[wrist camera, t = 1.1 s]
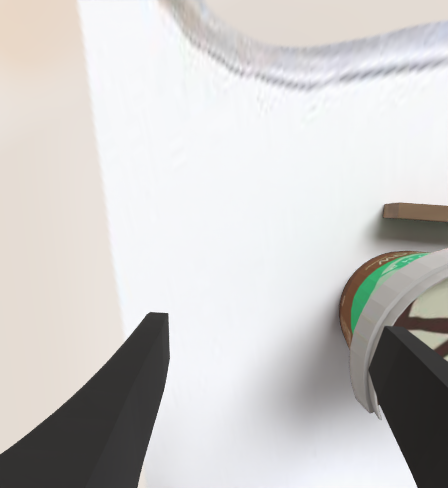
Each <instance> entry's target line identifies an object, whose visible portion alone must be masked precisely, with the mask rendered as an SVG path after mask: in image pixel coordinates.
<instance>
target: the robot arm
mask: <svg viewBox="0 0 448 488" xmlns="http://www.w3.org/2000/svg"><path fill="white" fill-rule="evenodd" d="M169 360H170V351H169V322H168V313H155V312H150V313H148V314H147V315H146V316H145V318H144V319H143V320H142V322H141V323H140V324H139V325H138V327H137V328H136V329H135V330H134V332H133V333H132V334H131V335H130V337H129V338H128V339H127V340H126V341H125V342H124V344H123V345H122V346H121V347H120V348H119V349H118V350H117V351H116V353H115V354H114V355H113V356H112V357H111V358H110V359H109V361H108V362H107V363H106V364H105V365H104V366H103V367H102V368H101V369H100V370H99V371H98V372H97V373H96V374H95V375H94V376H93V377H92V378H91V379H90V380H89V381H88V382H87V383H86V384H85V385H84V386H83V387H82V388H81V389H80V390H79V391H78V392H76V394H75V395H73V396H72V397H71V398H70V399H69V400H68V401H67V402H66V403H64V404H63V405H62V406H61V407H60V408H59V409H58V410H56V411H55V412H54V413H53V414H52V415H50V416H49V417H48V418H47V419H46V420H44V421H43V422H42V423H41V424H39V425H38V426H37V427H36V428H35V429H33V430H32V431H31V432H30V433H29V434H27V435H26V436H24V437H23V438H22V439H21V440H19V441H18V442H17V443H16V444H14V445H13V446H11V447H10V448H9V449H8V450H6V451H4V452H3V453H2V454H0V488H137V487H138V482H139V477H140V473H141V469H142V465H143V461H144V458H145V454H146V451H147V447H148V444H149V440H150V437H151V433H152V430H153V426H154V423H155V420H156V416H157V413H158V409H159V406H160V402H161V399H162V395H163V392H164V388H165V383H166V377H167V371H168V366H169ZM368 370H369V374H370V377H371V380H372V384H373V387H374V390H375V393H376V396H377V399H378V401H379V404H380V406H381V408H382V410H383V413H384V415H385V417H386V419H387V421H388V424H389V426H390V428H391V430H392V432H393V434H394V437H395V439H396V441H397V443H398V445H399V447H400V449H401V452H402V454H403V456H404V458H405V460H406V462H407V464H408V467H409V469H410V471H411V473H412V475H413V478H414V480H415V482H416V485H417V487H418V488H448V361H447V360H445V359H444V358H443V357H442V356H440V355H439V354H438V353H437V352H435V351H434V350H433V349H431V348H430V347H429V346H428V345H426V344H425V343H424V342H423V341H421V340H420V339H419V338H417V337H416V336H415V335H413V334H412V333H411V332H409V331H408V330H407V329H405V328H404V327H398V326H384V328H383V331H382V334H381V336H380V339H379V342H378V345H377V347H376V350H375V353H374V355H373V358H372V361H371V364H370V366H369V369H368Z"/></svg>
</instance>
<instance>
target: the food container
mask: <svg viewBox="0 0 448 488" xmlns="http://www.w3.org/2000/svg"><path fill="white" fill-rule="evenodd" d="M339 317H340V325H341V328H342V331H343V335H344V337H345V340H346V342H347V345H348V347H349V350H350V362H349V367H350V376H351V384H352V387H353V391H354V394H355V397H356V399H357V400H358V401H359V403H360V404H361V405H362V406H363V407H364V408H365V409H366V410H367V411H368V412H369V413H373V412H375V414H376V415H377V416H378V418H379V419H380V420H382V418H381V415H380V411H379V408H378V405H380V404H379V401H378V399H377V396H376V393H375V390H374V387H373V384H372V380H371V377H370V374H369V370H368V369H369V366H370V364H371V361H372V358H373V355H374V353H375V350H376V347H377V345H378V342H379V339H380V336H381V334H382V331H383V328H384V326H398V327H404V328H405V329H407V330H408V331H409V332H411V333H412V334H413V335H415V336H416V337H417V338H419V339H420V340H421V341H423V342H424V343H425V344H426V345H428V346H429V347H430V348H431V349H433V350H434V351H435V352H437V353H438V354H439V355H440V356H442V357H443V358H444V359H445V360H447V361H448V248H446V249H442V250H439V251H435V252H432V253H429V252H415V251H399V252H389V253H386V254H382V255H379V256H377V257H375V258H372V259H371V260H369V261H368V262H366V263H364V264H363V265H362V266H361V267H360V268H359V269H357V270H356V271H355V273H354V274H353V275H352V276H351V277H350V279H349V280H348V282H347V284H346V286H345V288H344V290H343V293H342V296H341V301H340V307H339Z"/></svg>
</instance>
